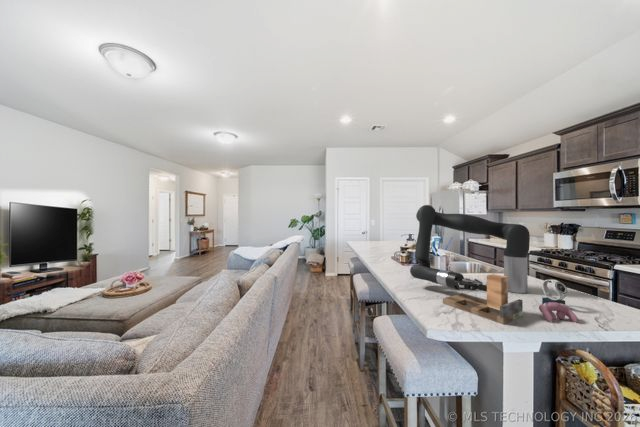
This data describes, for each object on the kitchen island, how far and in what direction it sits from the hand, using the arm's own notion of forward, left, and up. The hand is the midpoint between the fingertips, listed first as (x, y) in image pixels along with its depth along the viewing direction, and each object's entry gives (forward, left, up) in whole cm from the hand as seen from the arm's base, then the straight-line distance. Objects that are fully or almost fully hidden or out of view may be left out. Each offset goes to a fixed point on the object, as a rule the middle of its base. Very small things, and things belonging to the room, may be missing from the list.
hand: (490, 289), depth 98 cm
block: (0, +2, -6) cm, 7 cm away
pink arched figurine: (-11, +17, -8) cm, 22 cm away
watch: (-26, +11, -8) cm, 29 cm away
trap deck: (+3, -2, -8) cm, 9 cm away
